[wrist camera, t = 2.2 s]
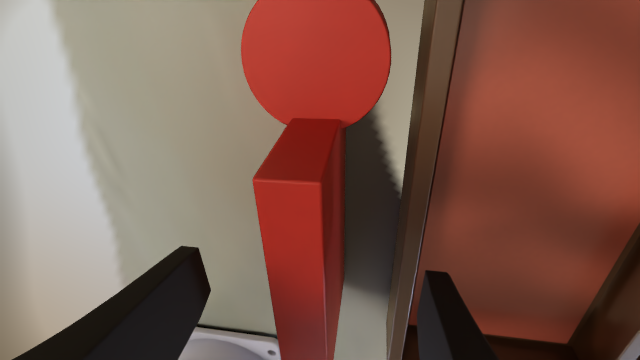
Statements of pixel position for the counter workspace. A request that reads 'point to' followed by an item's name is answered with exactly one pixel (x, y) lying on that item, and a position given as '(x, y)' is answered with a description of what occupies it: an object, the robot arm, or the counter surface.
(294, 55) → the red spoon
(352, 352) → the counter surface
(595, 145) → the sorting tray
